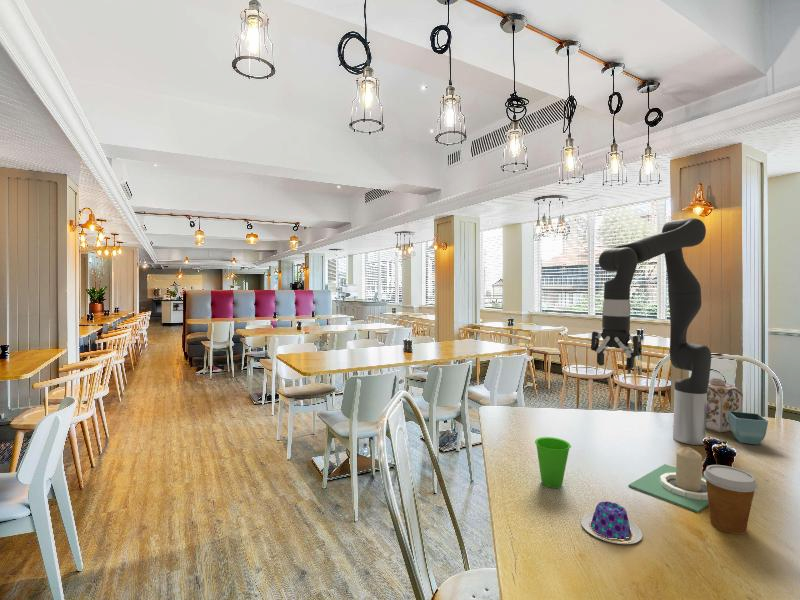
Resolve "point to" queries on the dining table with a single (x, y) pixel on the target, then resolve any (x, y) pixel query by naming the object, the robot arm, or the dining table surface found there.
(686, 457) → the candle
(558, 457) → the cup
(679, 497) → the putting green
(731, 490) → the disposable coffee cup
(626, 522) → the pudding
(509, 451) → the dining table surface
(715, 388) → the decorative jar
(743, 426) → the flower pot
